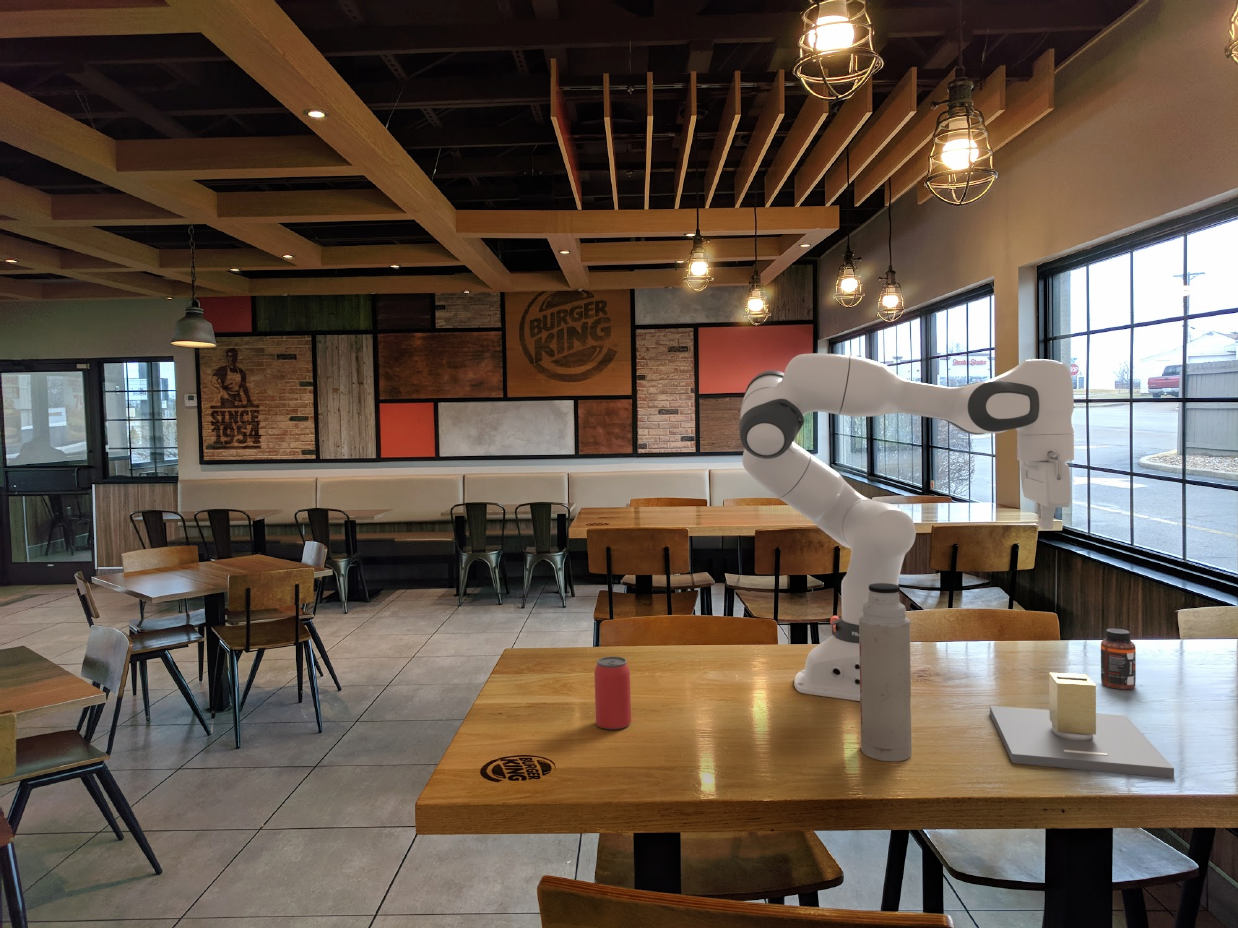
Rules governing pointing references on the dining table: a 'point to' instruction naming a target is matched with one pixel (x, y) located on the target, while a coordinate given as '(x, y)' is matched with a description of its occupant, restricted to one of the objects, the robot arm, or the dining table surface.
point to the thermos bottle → (885, 675)
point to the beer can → (612, 693)
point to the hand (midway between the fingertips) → (1045, 528)
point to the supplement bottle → (1118, 660)
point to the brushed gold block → (1072, 703)
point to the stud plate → (1078, 743)
